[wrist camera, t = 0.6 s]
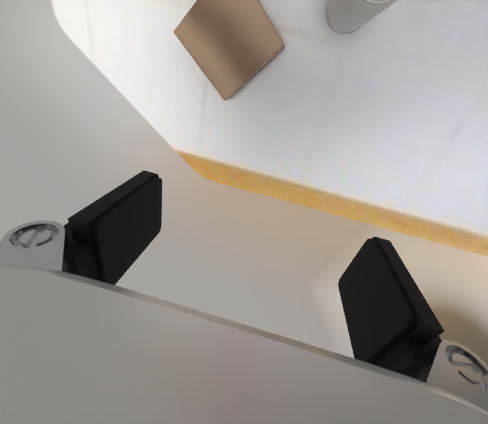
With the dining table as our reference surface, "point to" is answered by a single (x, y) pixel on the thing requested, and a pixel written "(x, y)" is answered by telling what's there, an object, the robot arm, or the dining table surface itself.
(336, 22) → the beverage can
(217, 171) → the dining table surface
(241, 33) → the walnut block
